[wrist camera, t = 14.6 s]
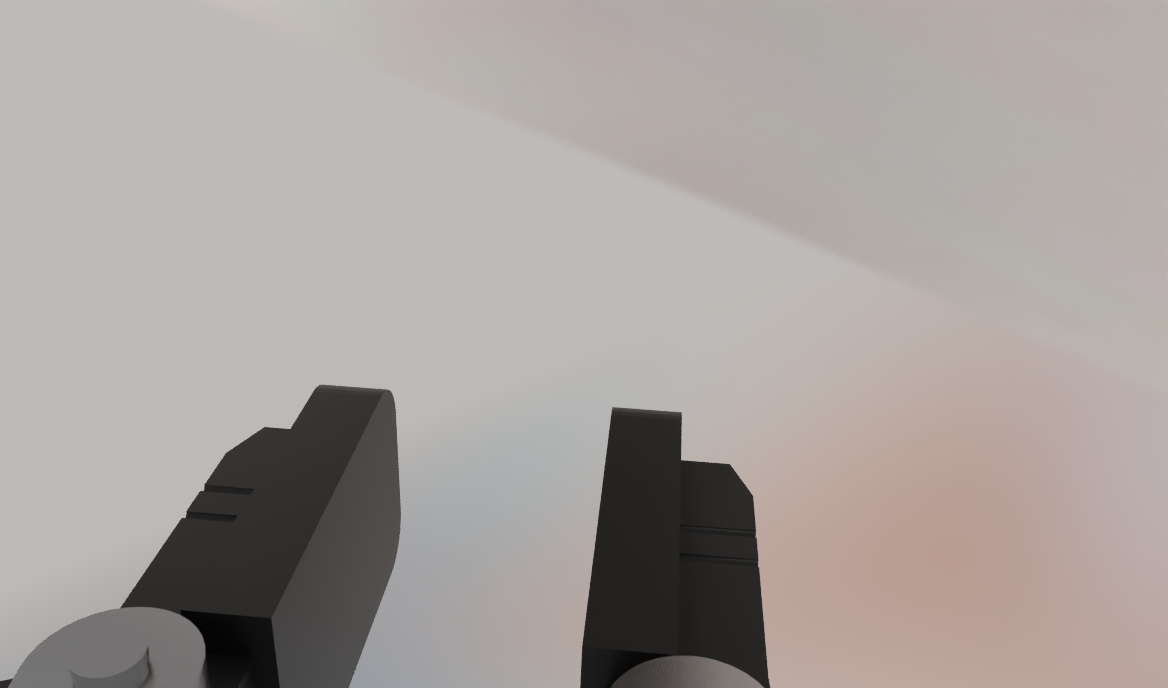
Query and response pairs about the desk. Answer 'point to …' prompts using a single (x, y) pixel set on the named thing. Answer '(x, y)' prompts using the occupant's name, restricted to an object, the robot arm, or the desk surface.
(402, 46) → the desk surface
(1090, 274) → the desk surface
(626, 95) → the desk surface
